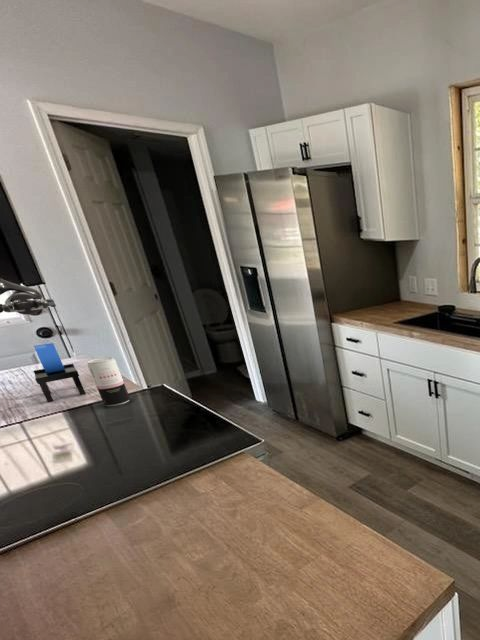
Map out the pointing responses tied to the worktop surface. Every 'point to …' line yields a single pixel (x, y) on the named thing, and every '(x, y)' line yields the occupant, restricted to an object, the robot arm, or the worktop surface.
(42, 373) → the tape rack
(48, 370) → the tape roll
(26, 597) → the worktop surface
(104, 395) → the beverage can
